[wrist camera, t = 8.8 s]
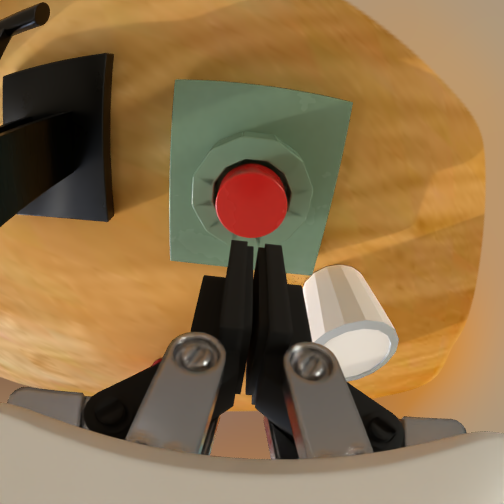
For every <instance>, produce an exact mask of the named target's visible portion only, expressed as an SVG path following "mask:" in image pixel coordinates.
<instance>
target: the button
mask: <svg viewBox="0 0 504 504" xmlns="http://www.w3.org/2000/svg"><path fill="white" fill-rule="evenodd" d="M215 207H216V213H217V216H218V218H219V220H220V222H221V223H222V224H223V226H224V227H225V228H226V229H227V230H229V231H230V232H232V233H234V234H235V235H238V236H241V237H245V238H258V237H262V236H265V235H268V234H270V233H271V232H273V231H274V230H276V229H277V228H278V227H279V226H280V224H281V223H282V222H283V220H284V218H285V216H286V213H287V197H286V193H285V189H284V186H283V183H282V181H281V179H280V178H279V176H278V175H277V174H276V173H275V172H274V171H273V170H271V169H270V168H268V167H266V166H263V165H260V164H253V163H250V164H243V165H240V166H237V167H235V168H234V169H232V170H231V171H229V172H228V173H227V174H226V175H225V177H224V178H223V180H222V182H221V184H220V187H219V190H218V193H217V197H216V202H215Z"/></svg>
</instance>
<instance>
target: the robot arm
mask: <svg viewBox="0 0 504 504" xmlns="http://www.w3.org/2000/svg"><path fill="white" fill-rule="evenodd" d="M253 256H254V246H248V241H239V240H231V247H230V254H229V261H228V268H227V275H226V278H224V277H215V276H206V275H204V277H203V281H202V285H201V289H200V293H199V297H198V302H197V306H196V310H195V314H194V319H193V323H192V328H191V332H189V333H185V334H182V335H179V336H178V337H176V338H175V339H174V340H172V342H171V343H170V345H169V346H168V348H167V350H166V352H165V354H164V356H163V358H162V360H161V362H159V363H157V364H155V365H153V366H151V367H149V368H147V369H145V370H143V371H141V372H139V373H137V374H135V375H133V376H131V377H129V378H127V379H125V380H123V381H121V382H119V383H117V384H115V385H113V386H111V387H109V388H106V389H104V390H102V391H100V392H98V393H97V394H95V395H94V396H92V397H89V396H84V394H83V393H77V392H65V391H55V390H47V389H39V388H31V387H21V388H19V389H17V390H15V391H14V392H13V393H12V394H11V395H10V397H9V399H8V402H7V403H2V402H0V504H504V434H503V433H498V432H486V431H484V432H483V431H482V432H472V433H466V430H465V428H464V426H463V425H462V424H461V423H459V422H458V421H457V420H453V419H437V418H420V417H407V416H404V417H403V418H402V419H398V418H397V417H396V416H395V415H394V414H393V413H391V412H390V411H388V410H386V409H385V408H384V407H382V406H381V405H379V404H378V403H376V402H375V401H374V400H372V399H371V398H369V397H368V396H366V395H365V394H363V393H362V392H361V391H359V390H358V389H356V388H355V387H353V386H352V385H351V384H349V383H348V382H346V379H345V377H344V374H343V372H342V369H341V367H340V365H339V362H338V360H337V358H336V356H335V355H334V353H333V352H331V351H330V350H329V349H328V348H326V347H325V346H323V345H321V344H318V343H314V342H312V338H311V332H310V326H309V321H308V316H307V310H306V305H305V300H304V294H303V289H302V286H301V285H291V284H287V279H286V272H285V265H284V258H283V251H282V245H274V244H265V246H264V248H263V247H258V252H257V259H256V265H255V272H254V278H253ZM246 361H247V363H246ZM245 367H246V395H252V404H253V405H255V408H256V409H257V410H258V411H260V412H261V413H262V414H263V415H264V425H265V430H266V435H267V441H268V446H269V451H270V456H271V459H245V458H230V457H219V456H210V453H211V449H212V445H213V441H214V438H215V435H216V431H217V427H218V424H219V420H220V415H221V414H222V413H224V412H225V411H227V410H228V409H230V408H231V407H232V406H233V404H234V398H235V394H240V393H241V388H242V383H243V377H244V372H245Z"/></svg>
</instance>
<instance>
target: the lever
mask: <svg viewBox="0 0 504 504" xmlns="http://www.w3.org/2000/svg"><path fill="white" fill-rule="evenodd" d="M49 15H50V9H49V6H48V5H47V4H46V3H44V2H42V3H39V4H36V5H34V6H31V7H29V8H26V9H24V10H21V11H19V12H17V13H15V14H12V15H10V16H8V17H6V18H4V19H2V20H0V59H1V57H2V55H3V53H4V51H5V49H6V47H7V45H8V43H9V41H10V39H11V37H12V36H14V35H17V34H19V33H22V32H24V31H27V30H30V29H33V28H36V27H39V26H42V25H44V24H45V23H46V22H47V21H48V19H49Z"/></svg>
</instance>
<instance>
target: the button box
mask: <svg viewBox="0 0 504 504" xmlns="http://www.w3.org/2000/svg"><path fill="white" fill-rule="evenodd" d="M352 105H353V103H352V102H350V101H346V100H342V99H337V98H333V97H328V96H324V95H319V94H314V93H308V92H303V91H297V90H292V89H285V88H279V87H272V86H264V85H256V84H247V83H237V82H226V81H211V80H186V79H176V80H175V86H174V98H173V112H172V128H171V149H170V185H169V230H170V260H171V261H180V262H188V263H197V264H206V265H215V266H224V267H228V261H229V254H230V247H231V240H239V241H248V246H254V256H253V270H255V265H256V259H257V252H258V247H263V248H264V246H265V244H274V245H282V251H283V258H284V265H285V272H286V273H291V274H301V275H312V273H313V270H314V266H315V263H316V259H317V256H318V252H319V248H320V245H321V241H322V237H323V234H324V230H325V226H326V222H327V218H328V214H329V210H330V206H331V202H332V198H333V194H334V190H335V185H336V181H337V177H338V173H339V168H340V164H341V159H342V155H343V150H344V145H345V140H346V136H347V131H348V126H349V121H350V115H351V110H352ZM250 163H253V164H260V165H263V166H266V167H268V168H270V169H271V170H273V171H274V172H275V173H276V174H277V175H278V176H279V178H280V179H281V181H282V183H283V186H284V189H285V193H286V197H287V213H286V216H285V218H284V220H283V222H282V223H281V224H280V226H279V227H278V228H277V229H276V230H274V231H273V232H271V233H270V234H268V235H265V236H262V237H258V238H245V237H241V236H238V235H235V234H234V233H232V232H230V231H229V230H227V229H226V228H225V227H224V226H223V224H222V223H221V222H220V220H219V218H218V216H217V213H216V207H215V202H216V197H217V193H218V190H219V187H220V184H221V182H222V180H223V178H224V177H225V175H226V174H227V173H228V172H229V171H231V170H232V169H234V168H235V167H237V166H240V165H243V164H250Z"/></svg>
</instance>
